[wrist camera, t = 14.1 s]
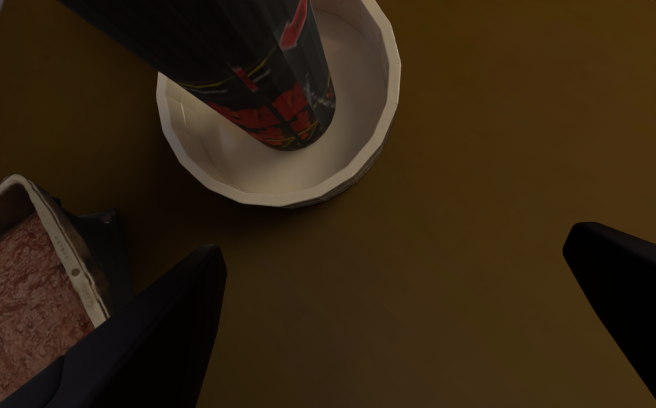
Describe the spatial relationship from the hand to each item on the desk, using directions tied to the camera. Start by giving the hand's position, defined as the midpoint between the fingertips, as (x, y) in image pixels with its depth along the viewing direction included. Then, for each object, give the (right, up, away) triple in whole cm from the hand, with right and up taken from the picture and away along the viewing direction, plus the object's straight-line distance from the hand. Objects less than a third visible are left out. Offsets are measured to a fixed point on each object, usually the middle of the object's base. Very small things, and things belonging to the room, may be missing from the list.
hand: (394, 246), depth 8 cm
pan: (-4, +7, +12) cm, 15 cm away
